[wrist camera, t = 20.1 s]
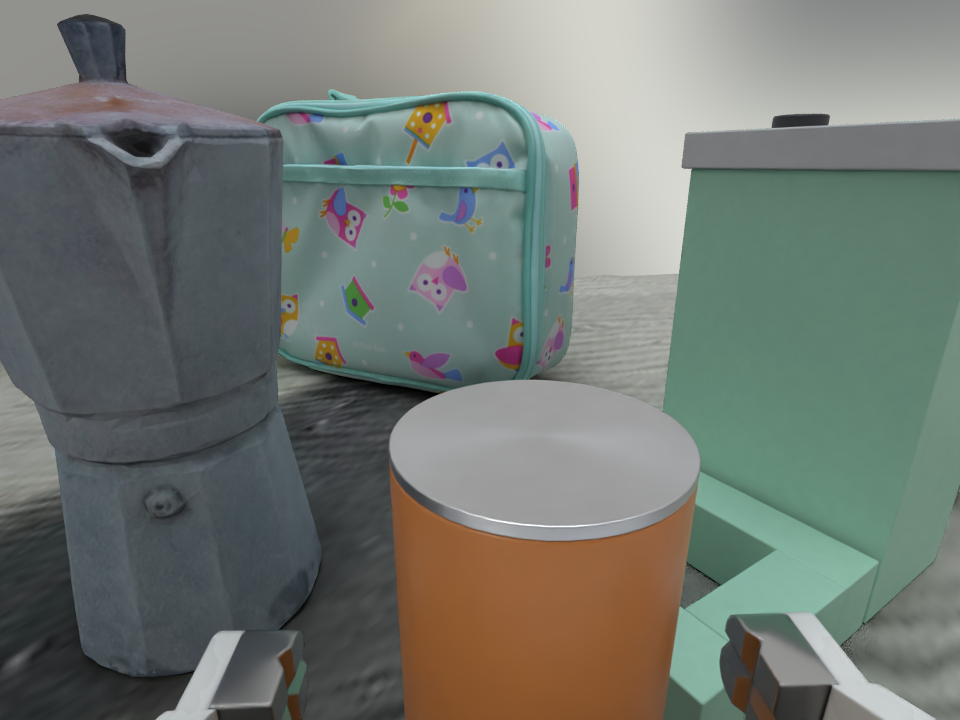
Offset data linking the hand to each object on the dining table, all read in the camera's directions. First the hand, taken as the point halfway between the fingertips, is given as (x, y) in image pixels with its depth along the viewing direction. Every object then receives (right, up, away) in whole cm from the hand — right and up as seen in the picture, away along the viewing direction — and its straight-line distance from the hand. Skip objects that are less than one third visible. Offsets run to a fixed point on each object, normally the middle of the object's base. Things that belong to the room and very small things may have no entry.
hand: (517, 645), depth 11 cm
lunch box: (-7, +4, +36) cm, 37 cm away
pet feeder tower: (+14, -2, +16) cm, 21 cm away
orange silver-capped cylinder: (0, -7, +2) cm, 8 cm away
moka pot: (-12, -4, +12) cm, 18 cm away
